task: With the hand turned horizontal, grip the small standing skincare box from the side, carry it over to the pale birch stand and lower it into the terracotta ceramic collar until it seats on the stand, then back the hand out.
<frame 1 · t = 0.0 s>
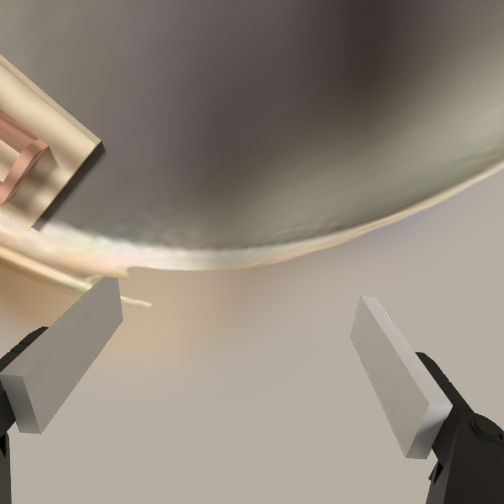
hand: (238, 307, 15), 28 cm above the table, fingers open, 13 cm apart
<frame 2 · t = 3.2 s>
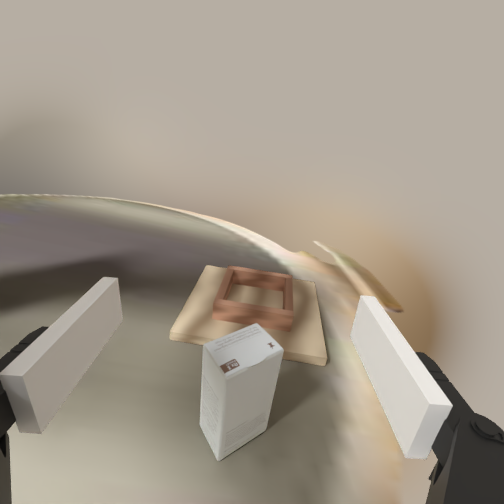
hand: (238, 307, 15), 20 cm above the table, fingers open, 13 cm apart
holder: (253, 309, 48), on the table
skincare box: (232, 432, 30), on the table
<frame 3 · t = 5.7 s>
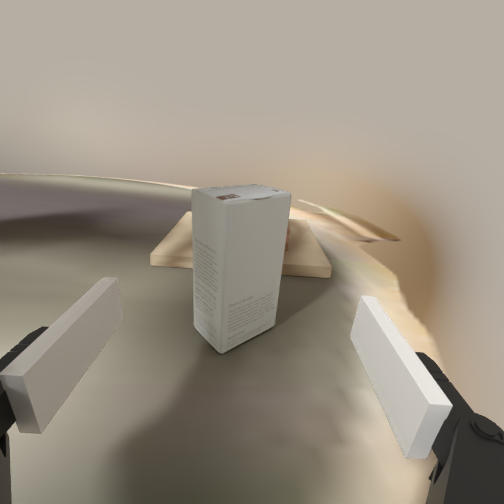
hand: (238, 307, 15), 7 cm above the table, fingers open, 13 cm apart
holder: (244, 242, 44), on the table
skincare box: (234, 331, 24), on the table
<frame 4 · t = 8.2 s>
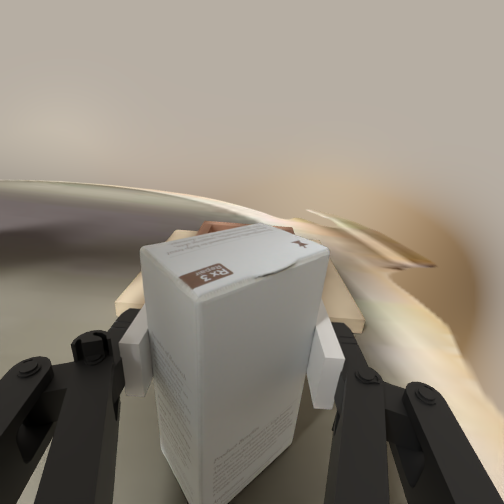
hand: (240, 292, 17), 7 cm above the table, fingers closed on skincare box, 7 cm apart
holder: (244, 273, 34), on the table
skincare box: (227, 455, 15), on the table, touching gripper
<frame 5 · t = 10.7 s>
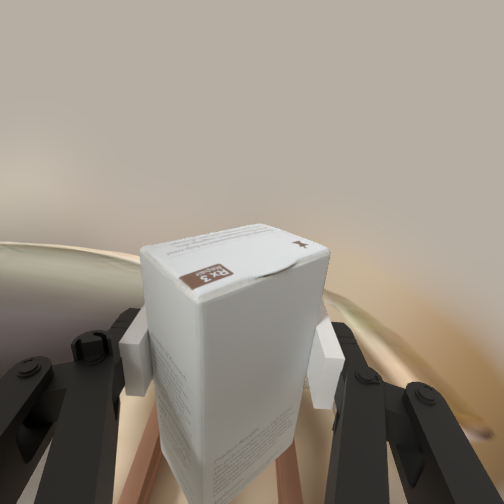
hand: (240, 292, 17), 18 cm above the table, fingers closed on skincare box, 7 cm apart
holder: (214, 503, 22), on the table
skincare box: (227, 456, 15), point 11 cm above the table, touching gripper
when the fingers open (10 cm above the table, at t = 13.2 s): skincare box drops 1 cm, resting on holder.
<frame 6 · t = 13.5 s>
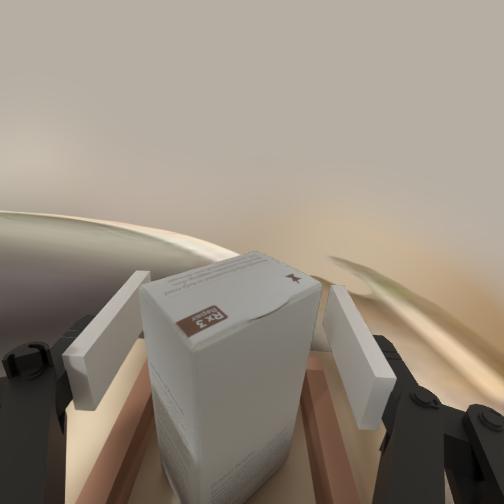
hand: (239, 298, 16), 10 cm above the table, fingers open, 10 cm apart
holder: (225, 485, 16), on the table
skincare box: (225, 472, 16), point 1 cm above the table, touching holder
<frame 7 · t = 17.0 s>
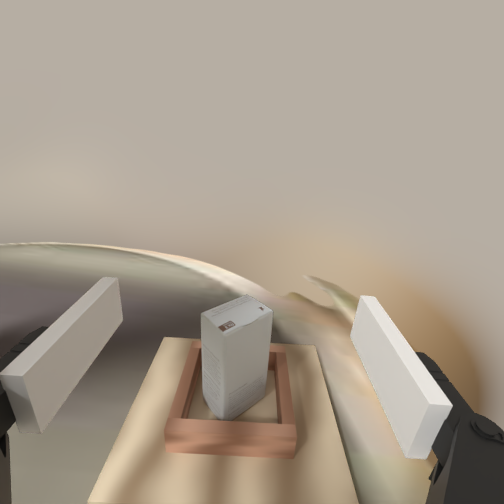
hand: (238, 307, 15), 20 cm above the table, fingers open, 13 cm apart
holder: (234, 410, 32), on the table
skincare box: (233, 402, 32), point 1 cm above the table, touching holder
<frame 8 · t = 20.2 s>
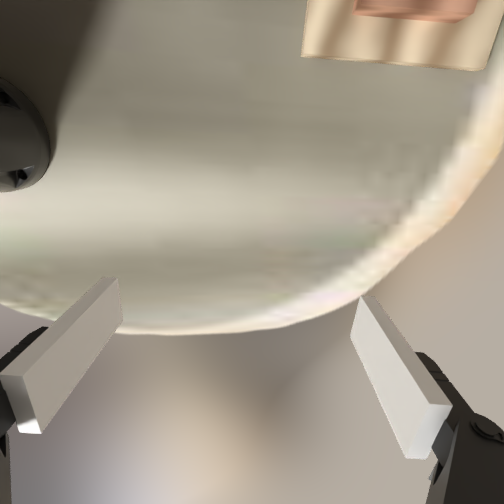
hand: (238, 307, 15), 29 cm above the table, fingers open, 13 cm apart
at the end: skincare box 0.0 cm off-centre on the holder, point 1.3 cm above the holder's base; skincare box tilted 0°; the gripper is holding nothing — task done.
